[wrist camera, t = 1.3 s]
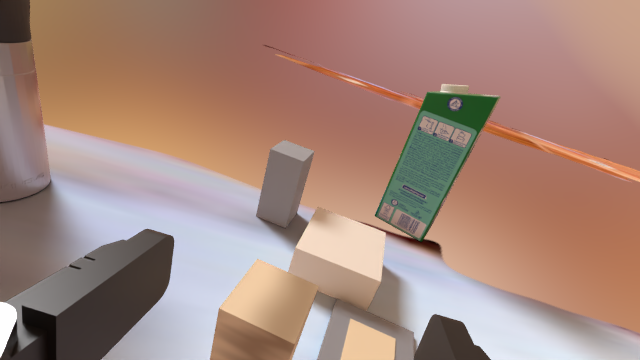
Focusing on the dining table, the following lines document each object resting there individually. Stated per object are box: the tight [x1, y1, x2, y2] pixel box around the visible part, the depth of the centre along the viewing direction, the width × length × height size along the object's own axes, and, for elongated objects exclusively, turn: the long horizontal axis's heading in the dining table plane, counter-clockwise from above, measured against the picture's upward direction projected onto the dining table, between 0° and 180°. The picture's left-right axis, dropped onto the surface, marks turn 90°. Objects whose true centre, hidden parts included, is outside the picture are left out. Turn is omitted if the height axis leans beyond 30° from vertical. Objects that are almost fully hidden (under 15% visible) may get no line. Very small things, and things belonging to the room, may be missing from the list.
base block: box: [288, 207, 386, 311], centre depth 39 cm, size 10×10×5 cm
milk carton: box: [375, 84, 500, 242], centre depth 51 cm, size 9×9×25 cm
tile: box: [317, 299, 414, 360], centre depth 30 cm, size 9×9×1 cm
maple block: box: [210, 259, 319, 360], centre depth 22 cm, size 5×5×11 cm
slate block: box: [256, 140, 314, 228], centre depth 44 cm, size 5×5×11 cm
